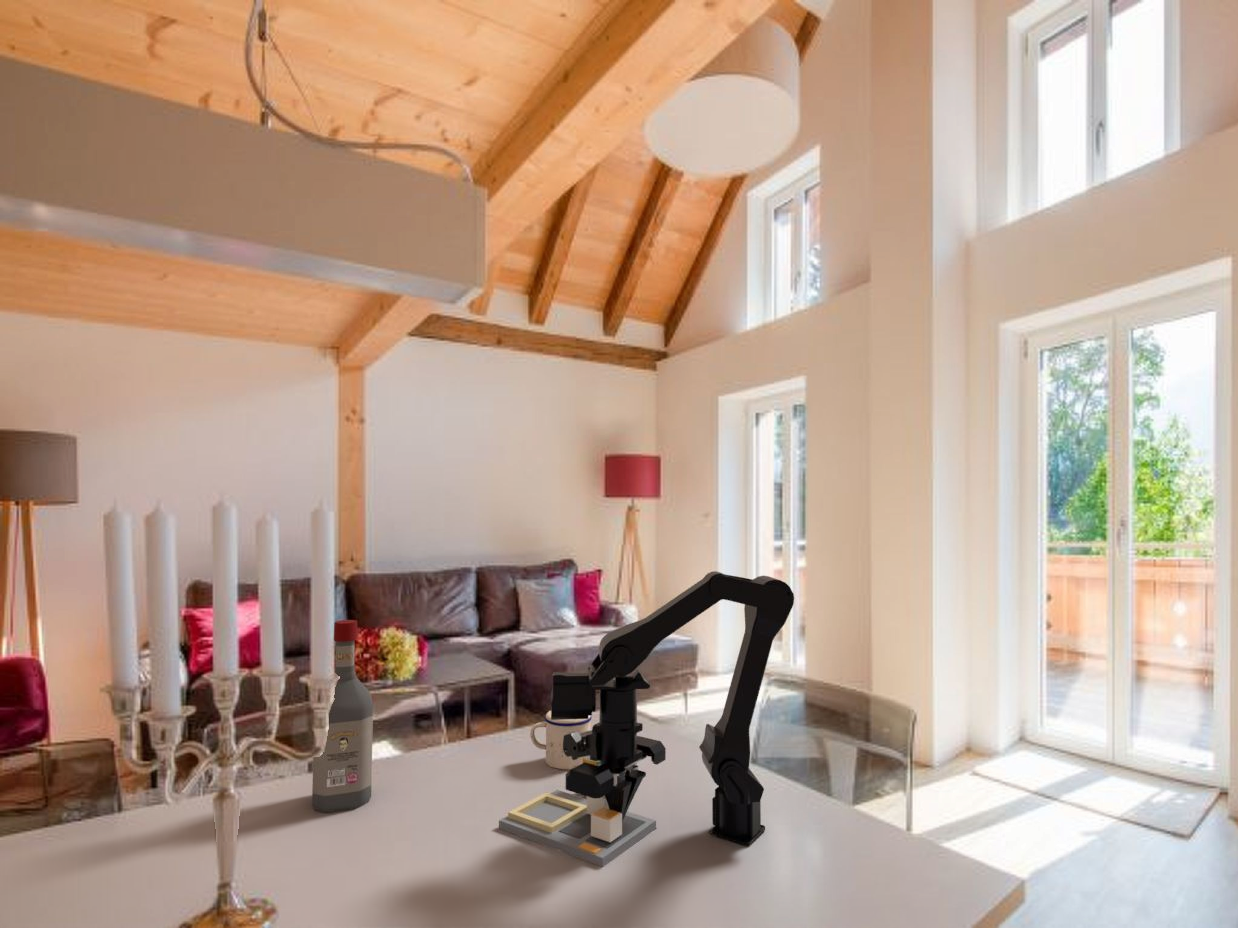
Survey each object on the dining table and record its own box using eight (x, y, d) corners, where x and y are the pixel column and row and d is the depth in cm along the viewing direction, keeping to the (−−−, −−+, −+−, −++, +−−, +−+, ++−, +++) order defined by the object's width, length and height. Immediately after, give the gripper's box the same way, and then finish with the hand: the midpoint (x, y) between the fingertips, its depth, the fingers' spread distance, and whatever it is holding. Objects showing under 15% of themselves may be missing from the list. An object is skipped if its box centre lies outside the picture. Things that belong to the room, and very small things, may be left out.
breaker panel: (656, 828, 108) (656, 814, 108) (602, 866, 97) (602, 851, 97) (557, 796, 120) (557, 784, 120) (498, 827, 108) (499, 814, 108)
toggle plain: (615, 811, 110) (615, 791, 110) (604, 818, 108) (604, 797, 108) (598, 806, 112) (598, 785, 112) (586, 813, 110) (586, 792, 110)
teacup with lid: (593, 753, 140) (594, 695, 141) (588, 771, 131) (588, 708, 132) (534, 752, 141) (535, 693, 142) (525, 769, 132) (525, 706, 132)
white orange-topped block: (622, 834, 103) (622, 811, 103) (610, 842, 100) (610, 819, 100) (602, 827, 105) (603, 805, 105) (590, 835, 102) (590, 813, 102)
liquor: (371, 806, 116) (375, 624, 117) (311, 815, 112) (316, 627, 114) (369, 785, 124) (372, 615, 126) (313, 793, 121) (317, 619, 122)
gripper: (610, 694, 118) (610, 788, 117) (537, 723, 103) (536, 831, 102) (667, 706, 112) (667, 805, 111) (597, 738, 97) (597, 854, 96)
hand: (617, 822), depth 105 cm, fingers closed
